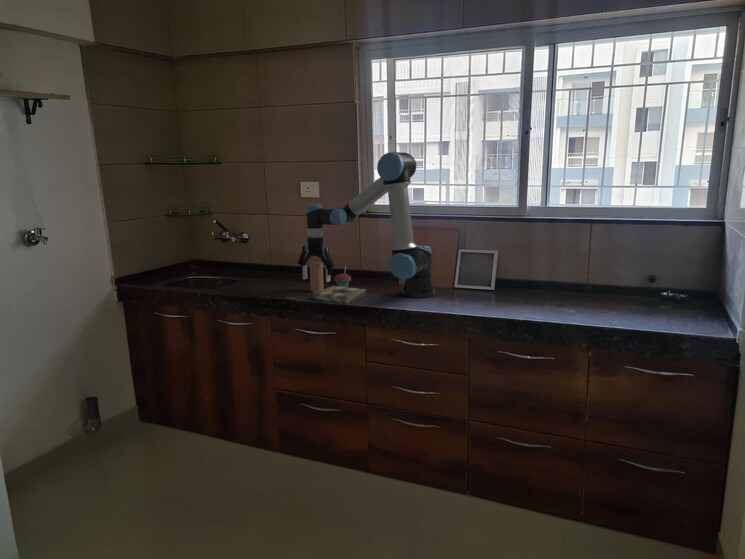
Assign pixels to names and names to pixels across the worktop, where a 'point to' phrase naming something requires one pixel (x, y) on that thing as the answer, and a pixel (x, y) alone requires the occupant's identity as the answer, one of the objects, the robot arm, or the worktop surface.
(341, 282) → the cupcake
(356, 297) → the well block
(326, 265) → the robot arm
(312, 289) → the bracket bar
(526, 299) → the worktop surface
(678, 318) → the worktop surface
